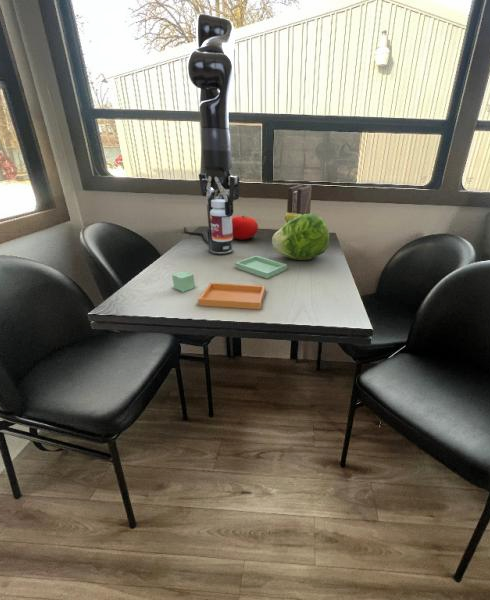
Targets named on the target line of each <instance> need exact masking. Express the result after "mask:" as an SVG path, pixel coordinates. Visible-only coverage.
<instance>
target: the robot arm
mask: <svg viewBox="0 0 490 600" xmlns="http://www.w3.org/2000/svg"><path fill="white" fill-rule="evenodd" d="M235 35H236V34H235V27H234V24H233V22H232V21H231V20H230V19H228V18H225V17H221V16H216V15H212V14H207V13H199V14H198V15H197V19H196V43H197V44H196V46H197V47H196V48H195V49H193V51H191V52H190V54H189V57H188V60H187V74H188V79H190V82H191V83H192V85H193V86H194V87H196V88H198V89H199V125H200V126H199V127H200V170H199V174H198V180H199V186H200V192H201V195H202V197H205V198H206V199H207V203H206V210H207V211H206V213H207V224H208V228H207V229H206V232H207V238H206V234H205V233H203V232H198V231H187V226H184V227H183V231H184V233H186V234H189V235H199V236H202V237H203V240H204V241H205V243H206V244H208V251H209V252H210V253H211V254H214V255H228V254H231V253H232V252H233V239H232V240H231V241H228V242H216V241H214V240H212V235H211V221H210V211H211V210H212V209H213V207H211V200H215V199H224V200H225V215H226V216H231V215H232V216H233V214H234V201H236V200H239V197H240V177H239V176H238V175H235V176H234V175H232V174H231V169H232V167H233V165H232V142H231V141H232V140H231V135H230V121H229V106H230V105H229V104H230V97H231V93H232V88H233V87H232V86H233V81H234V75H235V70H234V69H235V67H234V64H233V61H232V59H231V58H232V56H233V55H234V50H235ZM217 194H218V195H217ZM216 196H217V197H216Z"/></svg>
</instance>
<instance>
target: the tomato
mask: <svg viewBox="0 0 490 600" xmlns="http://www.w3.org/2000/svg"><path fill="white" fill-rule="evenodd" d="M258 230H259V225H258V222H257V221H256V220H255V219H254V218H252V217H250V216H246V215H235V216H232V232H233V239H236V240H239V241H245V240H248V239H251V238H253V237H254V236H255V235H256V234H257V232H258Z"/></svg>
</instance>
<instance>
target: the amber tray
mask: <svg viewBox="0 0 490 600" xmlns="http://www.w3.org/2000/svg"><path fill="white" fill-rule="evenodd" d="M265 294H266V285H256V284H240V283H239V284H238V283H223V282H221V283H220V282H209V283H208V285H207V286H206V288H205V289H204V290H203V291H202V293H201V295H200V296H199V297H198V298H197V302H198V306H202V307H204V306H205V307H218V308H220V307H221V308H235V309H249V310H261V307H262V305H263V301H264V297H265Z"/></svg>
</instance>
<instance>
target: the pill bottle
mask: <svg viewBox="0 0 490 600" xmlns="http://www.w3.org/2000/svg"><path fill="white" fill-rule="evenodd" d="M214 199H215V200H211V207H213V209H212V210H211V211H210V221H211V235H212V240H214V241H216V242H228V241H231V240H232V241H233V239H234V237H233V232H232V218H233V215H231V216H226V215H225V200H224V199H216V198H214Z"/></svg>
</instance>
